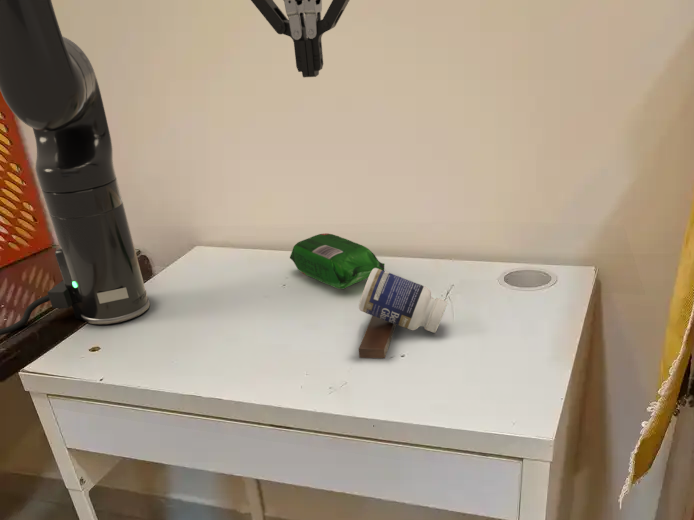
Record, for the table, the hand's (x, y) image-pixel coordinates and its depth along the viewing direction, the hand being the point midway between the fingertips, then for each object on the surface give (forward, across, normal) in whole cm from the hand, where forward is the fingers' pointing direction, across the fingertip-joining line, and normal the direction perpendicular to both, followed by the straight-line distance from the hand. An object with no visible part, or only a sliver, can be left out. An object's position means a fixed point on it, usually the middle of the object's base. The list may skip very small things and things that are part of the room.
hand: (310, 76), depth 82 cm
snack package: (+27, +1, -7) cm, 28 cm away
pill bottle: (+22, -6, +9) cm, 24 cm away
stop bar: (+27, -8, +11) cm, 30 cm away
